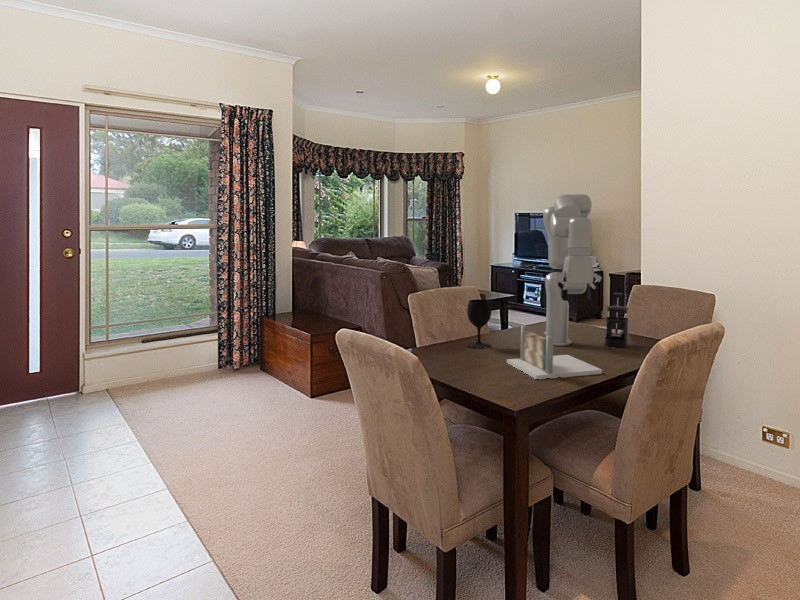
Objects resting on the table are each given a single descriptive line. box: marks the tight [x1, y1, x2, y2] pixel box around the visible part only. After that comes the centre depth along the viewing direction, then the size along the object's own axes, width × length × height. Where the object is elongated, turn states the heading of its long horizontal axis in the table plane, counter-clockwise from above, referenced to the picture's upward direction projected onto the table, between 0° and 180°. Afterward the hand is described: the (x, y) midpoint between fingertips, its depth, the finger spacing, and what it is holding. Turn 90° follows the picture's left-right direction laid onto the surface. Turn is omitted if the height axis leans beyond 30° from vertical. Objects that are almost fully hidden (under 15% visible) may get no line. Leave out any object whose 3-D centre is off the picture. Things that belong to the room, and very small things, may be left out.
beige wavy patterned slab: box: [524, 330, 546, 370], centre depth 202 cm, size 16×2×11 cm, turn 14°
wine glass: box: [466, 299, 492, 349], centre depth 240 cm, size 10×10×20 cm
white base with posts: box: [506, 325, 603, 380], centre depth 203 cm, size 23×26×14 cm
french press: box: [603, 292, 630, 349], centre depth 238 cm, size 12×9×23 cm
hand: (577, 300), depth 200 cm, fingers open, 9 cm apart
